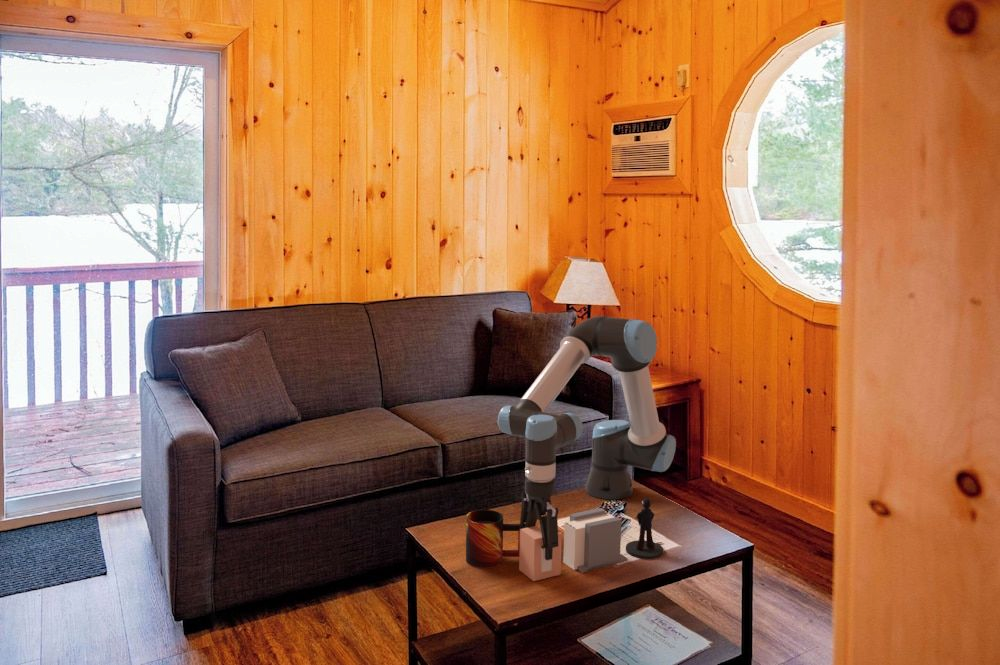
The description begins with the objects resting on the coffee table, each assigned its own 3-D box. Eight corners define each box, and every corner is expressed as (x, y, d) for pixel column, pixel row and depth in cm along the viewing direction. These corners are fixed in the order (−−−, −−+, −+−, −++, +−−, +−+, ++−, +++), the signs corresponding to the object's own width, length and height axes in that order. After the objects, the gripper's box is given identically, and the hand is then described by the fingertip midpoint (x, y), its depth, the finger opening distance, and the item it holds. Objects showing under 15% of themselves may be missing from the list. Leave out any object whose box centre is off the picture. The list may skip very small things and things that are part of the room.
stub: (545, 563, 216) (546, 522, 214) (560, 574, 210) (561, 532, 208) (519, 569, 212) (520, 528, 211) (533, 581, 206) (534, 538, 205)
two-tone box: (606, 548, 227) (608, 506, 225) (627, 561, 219) (629, 517, 217) (559, 559, 219) (560, 516, 217) (578, 573, 212) (580, 528, 210)
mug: (523, 560, 218) (524, 517, 216) (475, 571, 212) (476, 526, 210) (506, 546, 227) (506, 504, 225) (459, 556, 221) (460, 513, 219)
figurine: (656, 542, 231) (658, 491, 229) (668, 558, 221) (671, 504, 219) (621, 544, 230) (623, 492, 227) (632, 560, 220) (634, 506, 217)
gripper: (506, 467, 214) (505, 552, 217) (548, 493, 196) (546, 584, 200) (532, 463, 217) (530, 546, 221) (575, 487, 200) (572, 577, 204)
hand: (537, 564), depth 211 cm, fingers closed on stub, 7 cm apart
